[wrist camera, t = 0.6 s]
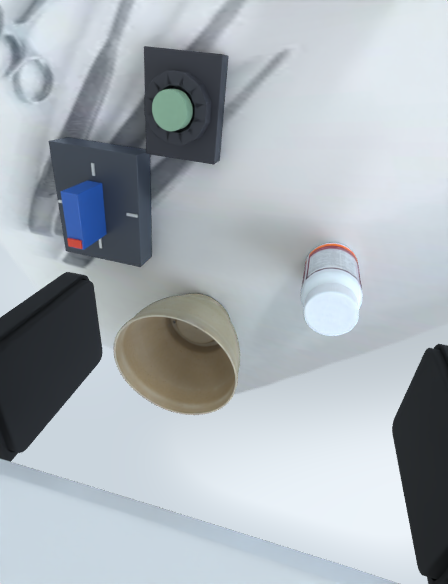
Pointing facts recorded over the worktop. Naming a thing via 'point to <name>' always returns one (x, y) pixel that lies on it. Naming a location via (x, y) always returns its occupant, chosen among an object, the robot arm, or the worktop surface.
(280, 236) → the worktop surface
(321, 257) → the pill bottle
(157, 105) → the button
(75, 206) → the blue flat block
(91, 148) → the panel
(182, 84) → the block
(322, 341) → the worktop surface
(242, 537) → the robot arm
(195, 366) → the planter bowl
